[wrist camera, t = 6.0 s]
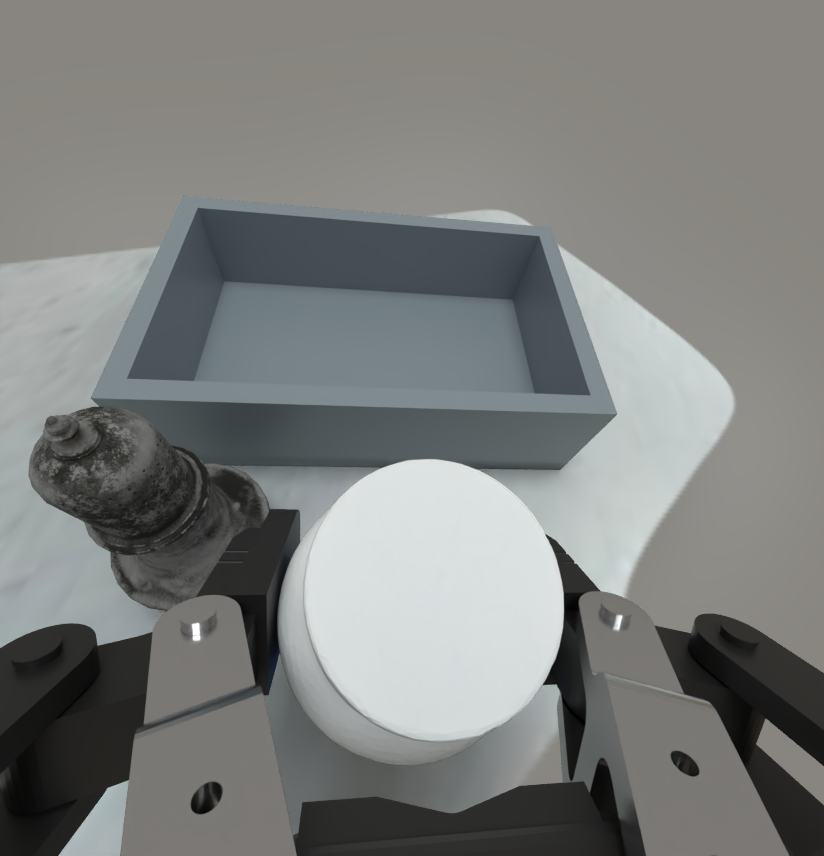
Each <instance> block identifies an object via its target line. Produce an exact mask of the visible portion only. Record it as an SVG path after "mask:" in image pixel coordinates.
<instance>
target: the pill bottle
mask: <svg viewBox="0 0 824 856" xmlns="http://www.w3.org/2000/svg"><path fill="white" fill-rule="evenodd" d="M563 621H564V594H563V586H562V580H561V576H560V571H559V568H558V563H557V560H556V557H555V554H554V552H553V549H552V547H551V545H550V543H549V540H548V539H547V537H546V535H545V533H544V531H543V529H542V527H541V526H540V524H539V523H538V521H537V520H536V518H535V517H534V515H533V514H532V513H531V511H530V510H529V509H528V508H527V506H526V505H525V504H524V503H523V502H522V501H521V500H520V499H519V498H518V497H517V496H516V495H515V494H514V493H512V492H511V491H510V490H509V489H508V488H507V487H505V486H504V485H503V484H501V483H500V482H498V481H497V480H495V479H494V478H492V477H490V476H489V475H487V474H485V473H483V472H481V471H479V470H476V469H474V468H471V467H468V466H465V465H463V464H460V463H455V462H451V461H444V460H438V459H421V460H407V461H403V462H399V463H396V464H392V465H389V466H386V467H383V468H381V469H379V470H377V471H375V472H373V473H371V474H369V475H367V476H365V477H364V478H362V479H361V480H359V481H358V482H356V483H355V484H354V485H352V486H351V487H350V488H349V489H348V490H347V491H346V492H345V493H344V494H343V495H341V496H340V497H339V499H338V500H337V501H336V502H335V503H334V505H333V506H332V507H331V508H330V509H329V510H328V511H327V512H326V513H325V514H323V515H322V516H321V517H320V518H319V519H318V520H317V521H316V522H315V523H314V525H313V526H312V527H311V528H310V530H309V531H308V532H307V533H306V535H305V536H304V538H303V539H302V540H301V542H300V544H299V545H298V547H297V549H296V551H295V552H294V554H293V556H292V558H291V561H290V563H289V565H288V568H287V571H286V574H285V577H284V580H283V583H282V587H281V592H280V597H279V603H278V613H277V632H278V643H279V650H280V655H281V660H282V664H283V667H284V670H285V674H286V676H287V679H288V682H289V684H290V686H291V688H292V690H293V692H294V695H295V697H296V698H297V700H298V702H299V703H300V705H301V707H302V708H303V710H304V711H305V712H306V714H307V715H308V716H309V718H310V719H311V720H312V721H313V723H314V724H315V725H316V726H317V727H318V728H319V729H320V730H321V731H322V732H323V733H325V734H326V735H327V736H328V737H329V738H330V739H332V740H333V741H334V742H335V743H337V744H339V745H340V746H342V747H344V748H345V749H347V750H349V751H351V752H353V753H355V754H357V755H360V756H363V757H365V758H368V759H371V760H374V761H377V762H380V763H385V764H392V765H422V764H426V763H431V762H435V761H440V760H443V759H445V758H448V757H450V756H453V755H455V754H457V753H459V752H461V751H463V750H464V749H466V748H468V747H469V746H471V745H472V744H474V743H475V742H477V741H478V740H479V739H480V738H482V737H483V736H484V735H485V734H487V733H488V732H490V731H492V730H494V729H496V728H498V727H499V726H501V725H503V724H505V723H506V722H508V721H509V720H510V719H512V718H513V717H514V716H515V715H517V714H518V713H519V712H520V711H521V710H522V709H524V707H525V706H526V705H527V704H528V703H529V702H530V701H531V700H532V698H533V697H534V696H535V695H536V693H537V692H538V691H539V689H540V688H541V687H542V685H543V683H544V681H545V680H546V678H547V676H548V674H549V672H550V669H551V667H552V665H553V663H554V661H555V659H556V656H557V653H558V649H559V646H560V641H561V636H562V631H563Z"/></svg>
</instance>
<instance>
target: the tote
mask: <svg viewBox="0 0 824 856" xmlns="http://www.w3.org/2000/svg"><path fill="white" fill-rule="evenodd" d="M91 399H92V400H93V401H94V402H95V403H96V404H97V405H98V406H99V407H106V406H116V407H122V408H127V409H129V410H131V411H134V412H136V413H138V414H140V415H141V416H143V417H145V418H146V419H147V420H148V421H149V422H150V423H151V424H152V425H153V426H154V427H155V428H156V429H157V430H158V431H159V432H160V433H161V435H162V436H163V437H164V438H165V439H166V440H167V441H168V442H169V444H170V445H172V446H178V447H182V448H184V449H186V450H189V451H191V452H193V453H194V454H195V455H196V456H197V457H198V458H199V459H200V460H201V461H202V462H203V463H204V464H210V463H215V464H220V465H276V466H347V467H386V466H389V465H392V464H396V463H399V462H403V461H407V460H421V459H438V460H444V461H451V462H455V463H460V464H463V465H465V466H468V467H471V468H489V469H561V468H562V467H563V466H564V465H565V464H566V463H568V462H569V461H570V460H571V459H572V458H573V457H574V456H575V455H576V454H577V453H578V452H579V451H580V450H581V449H582V448H583V447H584V446H585V445H586V444H587V443H588V442H589V441H590V440H591V439H592V438H593V437H594V436H595V435H596V434H598V433H599V432H600V431H601V430H602V429H603V428H604V427H605V426H606V425H607V424H608V423H609V422H610V421H611V420H612V419H613V418H614V417H615V416H616V415H617V412H616V409H615V406H614V404H613V401H612V398H611V395H610V392H609V390H608V387H607V384H606V381H605V378H604V375H603V373H602V370H601V367H600V364H599V361H598V358H597V356H596V353H595V350H594V347H593V344H592V341H591V339H590V336H589V333H588V330H587V327H586V324H585V322H584V319H583V316H582V313H581V310H580V307H579V305H578V302H577V299H576V296H575V293H574V291H573V288H572V285H571V282H570V279H569V276H568V274H567V271H566V268H565V265H564V262H563V259H562V257H561V254H560V251H559V248H558V245H557V242H556V240H555V237H554V234H553V231H552V228H550V227H538V226H527V225H515V224H503V223H492V222H480V221H468V220H457V219H445V218H433V217H422V216H410V215H398V214H387V213H374V212H363V211H352V210H339V209H327V208H316V207H305V206H293V205H282V204H270V203H258V202H246V201H235V200H223V199H211V198H199V197H188V196H183V198H182V201H181V203H180V205H179V207H178V209H177V211H176V214H175V216H174V218H173V220H172V222H171V224H170V227H169V229H168V231H167V233H166V236H165V238H164V240H163V242H162V244H161V246H160V248H159V251H158V253H157V255H156V257H155V259H154V261H153V264H152V266H151V268H150V270H149V272H148V275H147V277H146V279H145V281H144V283H143V285H142V288H141V290H140V292H139V294H138V296H137V298H136V301H135V303H134V305H133V307H132V309H131V312H130V314H129V316H128V318H127V320H126V322H125V325H124V327H123V329H122V331H121V333H120V336H119V338H118V340H117V342H116V344H115V346H114V349H113V351H112V353H111V355H110V357H109V359H108V362H107V364H106V366H105V368H104V370H103V373H102V375H101V377H100V379H99V381H98V383H97V386H96V388H95V390H94V392H93V394H92V396H91Z"/></svg>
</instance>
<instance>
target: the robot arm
mask: <svg viewBox="0 0 824 856" xmlns="http://www.w3.org/2000/svg"><path fill="white" fill-rule="evenodd" d="M545 535H546V534H545ZM546 537H547V539H548V540H549V543H550V545H551V547H552V549H553V552H554V554H555V557H556V560H557V563H558V568H559V571H560V576H561V580H562V586H563V594H564V621H563V631H562V636H561V641H560V646H559V649H558V653H557V656H556V659H555V661H554V663H553V665H552V667H551V669H550V672H549V674H548V676H547V678H546V680H545V681H544V683H543V685H554V684H557V686H558V688H559V690H560V695H559V700H558V705H557V713H558V726H559V739H560V752H561V765H562V779H563V783H554V784H541V785H527V786H519V787H516V788H514V789H512V790H509V791H507V792H505V793H503V794H500V795H498V796H496V797H493V798H491V799H489V800H487V801H484V802H482V803H480V804H477V805H475V806H473V807H471V808H468V809H466V810H464V811H461V812H458V813H445V812H440V811H436V810H432V809H427V808H423V807H419V806H414V805H410V804H406V803H401V802H397V801H393V800H388V799H384V798H380V797H368V798H355V799H341V800H328V801H315V802H303V803H302V811H301V818H300V826H299V833H297V834H295V835H292V830H291V825H290V821H289V816H288V811H287V806H286V801H285V797H284V792H283V787H282V782H281V777H280V773H279V768H278V763H277V758H276V753H275V748H274V744H273V739H272V734H271V729H270V724H269V720H268V715H267V710H266V705H265V700H264V696H263V695H268V694H269V691H270V687H271V683H272V679H273V675H274V672H275V668H276V664H277V660H278V656H279V653H280V650H279V643H278V632H277V613H278V603H279V597H280V592H281V587H282V583H283V580H284V577H285V574H286V571H287V568H288V565H289V563H290V561H291V558H292V556H293V554H294V552H295V551H296V549H297V547H298V545H299V544H300V512H299V510H286V509H271V510H270V511H269V513H268V515H267V516H266V518H265V520H264V522H263V524H262V526H261V528H254V527H248V528H246V529H245V530H243V531H242V532H240V533H239V534H238V535H236V536H235V537H233V538H232V540H231V541H230V543H229V545H228V546H227V548H226V549H225V553H223V554H222V556H221V557H220V559H219V562H218V563H217V564H216V565H215V567H214V569H213V570H212V572H211V573H210V575H209V577H208V578H207V580H206V581H205V583H204V585H203V586H202V588H201V589H200V591H199V593H198V594H197V596H196V597H195V598H192V599H189V600H186V601H184V602H182V603H180V604H177V605H176V606H174V607H172V608H171V609H169V610H168V611H167V612H165V613H164V614H163V615H162V616H161V617H160V618H159V620H158V621H157V622H156V624H155V626H154V629H153V632H151V633H148V634H145V635H141V636H138V637H134V638H129V639H125V640H121V641H117V642H112V643H108V644H104V645H100V646H97V640H96V634H95V632H94V630H93V629H91V628H90V627H88V626H86V625H82V624H61V625H55V626H50V627H46V628H43V629H40V630H37V631H34V632H31V633H29V634H26V635H24V636H22V637H20V638H18V639H15V640H14V641H12V642H10V643H8V644H6V645H5V646H3V647H2V648H0V856H58V855H59V854H60V853H61V851H62V850H63V848H64V847H65V846H66V844H67V843H68V842H69V840H70V839H71V838H72V836H73V835H74V834H75V832H76V831H77V829H78V828H79V827H80V825H81V824H82V823H83V821H84V820H85V819H86V817H87V816H88V815H89V813H90V812H91V810H92V809H93V808H94V806H95V805H96V804H97V802H98V801H99V800H100V798H101V797H102V796H103V794H104V792H105V791H106V789H107V788H108V787H111V786H114V785H116V784H119V783H122V782H124V781H127V780H129V785H128V793H127V802H126V811H125V819H124V828H123V836H122V845H121V854H120V856H824V805H823V804H822V803H820V801H818V800H817V799H816V798H815V797H814V796H813V795H812V794H811V793H809V792H808V791H807V790H806V789H805V788H804V787H803V786H802V785H800V784H799V783H798V782H797V781H796V780H795V779H794V778H793V777H792V776H790V774H788V773H787V772H786V771H785V770H784V769H783V768H782V767H780V766H779V765H778V764H777V763H776V762H775V761H774V760H773V759H772V758H771V757H769V756H768V755H767V754H766V753H765V752H764V751H763V750H762V749H761V748H759V747H758V746H757V745H756V742H757V740H758V737H759V735H760V732H761V729H762V727H763V724H764V721H765V719H768V720H769V721H770V722H771V723H772V724H774V725H775V726H776V727H777V728H778V729H780V730H781V731H782V732H783V733H784V734H786V735H787V736H788V737H789V738H790V739H792V740H793V741H794V742H795V743H796V744H798V745H799V746H800V747H801V748H803V749H804V750H805V751H806V752H807V753H809V754H810V755H811V756H812V757H814V758H815V759H816V760H817V761H818V762H819V763H821V764H822V765H823V766H824V673H823V672H821V671H819V670H818V669H816V668H815V667H813V666H812V665H810V664H809V663H807V662H806V661H804V660H803V659H801V658H800V657H798V656H796V655H795V654H793V653H792V652H790V651H789V650H787V649H786V648H784V647H783V646H781V645H780V644H778V643H777V642H775V641H774V640H772V639H771V638H769V637H768V636H766V635H765V634H763V633H761V632H760V631H758V630H757V629H755V628H753V627H751V626H749V625H747V624H745V623H743V622H740V621H738V620H735V619H733V618H730V617H726V616H722V615H717V614H702V615H699V616H698V617H696V619H695V621H694V625H693V628H692V631H691V633H687V632H682V631H677V630H672V629H667V628H663V627H658V626H654V624H653V622H652V620H651V618H650V617H649V616H648V615H647V613H646V612H645V611H644V610H642V609H641V608H640V607H639V606H638V605H636V604H634V603H633V602H631V601H629V600H627V599H625V598H623V597H621V596H618V595H615V594H612V593H608V592H601V591H600V590H599V589H598V588H597V587H596V586H595V584H594V583H593V582H592V581H591V580H590V579H589V578H588V576H587V575H586V574H585V573H584V572H583V571H582V570H581V569H580V567H579V566H578V565H577V564H574V561H573V559H572V558H571V557H570V556H569V555H568V554H566V552H565V550H564V549H563V548H562V547H561V546H560V545H559V544H558V542H557V541H556V540H554V539H552V538H551V537H549V536H548V535H546Z"/></svg>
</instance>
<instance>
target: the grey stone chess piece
mask: <svg viewBox="0 0 824 856" xmlns="http://www.w3.org/2000/svg"><path fill="white" fill-rule="evenodd" d="M29 478H30V481H31V485H32V487H33V488H34V489H35V491H36V492H37V493H38V494H39V495H40V496H41V497H42V498H43V500H44V501H45V502H46V503H48V504H50V505H52V506H54V507H56V508H58V509H60V510H62V511H64V512H66V513H68V514H70V515H72V516H74V517H76V518H78V519H80V520H82V521H84V523H85V526H86V528H87V531H88V534H89V536H90V537H91V538H92V539H93V540H94V541H95V542H96V544H97V545H99V546H101V547H102V548H104V549H106V550H108V551H110V552H111V568H112V570H113V573H114V575H115V578H116V580H117V583H118V585H119V586H120V587H121V588H122V589H123V590H124V591H125V593H126V594H127V595H128V596H129V597H130V598H131V599H133V600H135V601H137V602H139V603H140V604H142V605H144V606H146V607H148V608H153V609H159V610H165V611H168V610H169V609H171V608H172V607H174V606H176V605H177V604H180V603H182V602H184V601H186V600H189V599H192V598H195V597H196V596H197V594H198V593H199V591H200V589H201V588H202V586H203V585H204V583H205V581H206V580H207V578H208V577H209V575H210V573H211V572H212V570H213V569H214V567H215V565H216V564H217V563H218V562H219V559H220V557H221V556H222V554H223V553H225V549H226V548H227V546H228V545H229V543H230V541H231V540H232V538H233V537H235V536H236V535H238V534H239V533H240V532H242V531H243V530H245V529H246V528H248V527H254V528H261V526H262V524H263V522H264V520H265V518H266V516H267V515H268V513H269V511H270V509H269V505H268V501H267V498H266V496H265V495H264V493H263V491H262V490H261V488H260V486H259V485H258V483H256V482H255V481H254V480H253V479H252V478H251V477H250V476H248V475H247V474H246V473H244V472H242V471H240V470H238V469H236V468H233V467H231V466H226V465H220V464H215V463H210V464H204V463H203V462H202V461H201V460H200V459H199V458H198V457H197V456H196V455H195V454H194V453H193V452H191V451H189V450H186V449H184V448H182V447H178V446H172V445H170V444H169V442H168V441H167V440H166V439H165V438H164V437H163V436H162V435H161V433H160V432H159V431H158V430H157V429H156V428H155V427H154V426H153V425H152V424H151V423H150V422H149V421H148V420H147V419H146V418H145V417H143V416H141V415H140V414H138V413H136V412H134V411H131V410H129V409H127V408H122V407H116V406H106V407H91V408H87V409H83V410H79V411H77V412H74V413H72V414H69V415H60V416H50V417H48V418H47V420H46V423H45V429H44V431H43V435H42V436H41V437H40V439H39V440H38V441H37V443H36V444H35V446H34V449H33V451H32V454H31V457H30V462H29Z"/></svg>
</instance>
